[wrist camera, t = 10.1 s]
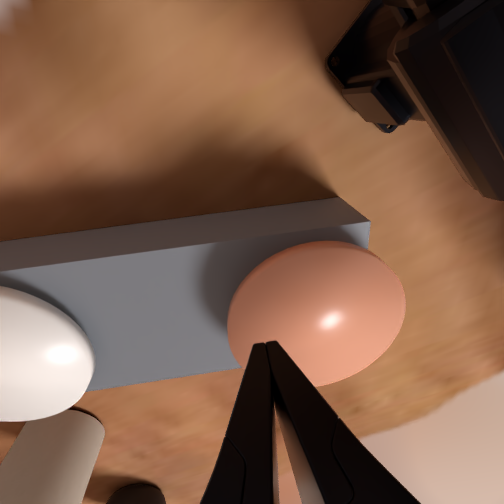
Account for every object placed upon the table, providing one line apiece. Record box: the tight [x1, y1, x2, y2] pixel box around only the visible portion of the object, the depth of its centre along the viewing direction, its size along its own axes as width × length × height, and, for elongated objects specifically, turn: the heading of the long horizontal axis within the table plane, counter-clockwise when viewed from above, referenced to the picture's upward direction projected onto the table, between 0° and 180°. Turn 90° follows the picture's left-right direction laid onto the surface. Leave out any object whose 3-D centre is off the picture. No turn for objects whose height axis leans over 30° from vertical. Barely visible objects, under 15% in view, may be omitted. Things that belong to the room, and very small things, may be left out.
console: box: [0, 197, 371, 392], centre depth 21 cm, size 28×11×5 cm, turn 96°
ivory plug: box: [0, 286, 95, 422], centre depth 20 cm, size 11×11×6 cm
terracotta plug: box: [227, 241, 406, 387], centre depth 20 cm, size 11×11×6 cm
